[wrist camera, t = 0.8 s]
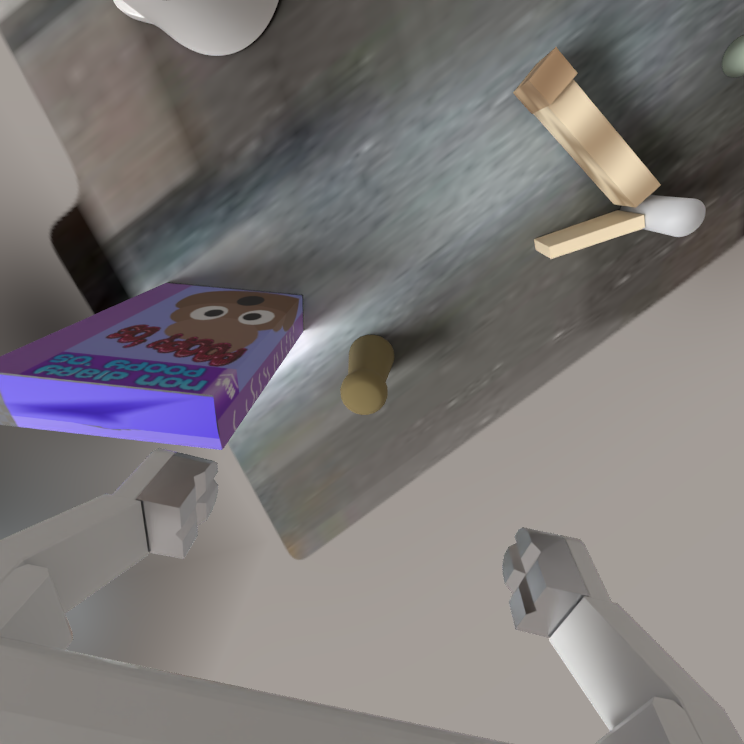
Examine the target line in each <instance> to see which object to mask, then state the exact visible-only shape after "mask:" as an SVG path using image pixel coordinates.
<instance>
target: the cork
mask: <svg viewBox="0 0 744 744" xmlns="http://www.w3.org/2000/svg"><path fill="white" fill-rule="evenodd" d="M393 361H394V351H393V348H392V346H391V345H390V343H389V342H388V341H387V340H385V339H384V338H382V337H380V336H377V335H365V336H362V337H359V338H358V339H357V340H355V341H354V343H353V344H352V345H351V348H350V351H349V369H348V375H347V376H346V378H345V379H344V380H343V382H342V386H341V389H340V390H341V399H342V401H343V403H344V405H345V406H346V407H347V408H348V409H349V410H351V411H352V412H354V413H357V414H360V415H368V414H372V413H375V412H376V411H378V410H380V409H381V407H382V406H383V405H384V404H385V402H386V399H387V385H386V383H385V382H386V380H387V377H388V374H389V372H390V369H391V367H392V364H393Z"/></svg>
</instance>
